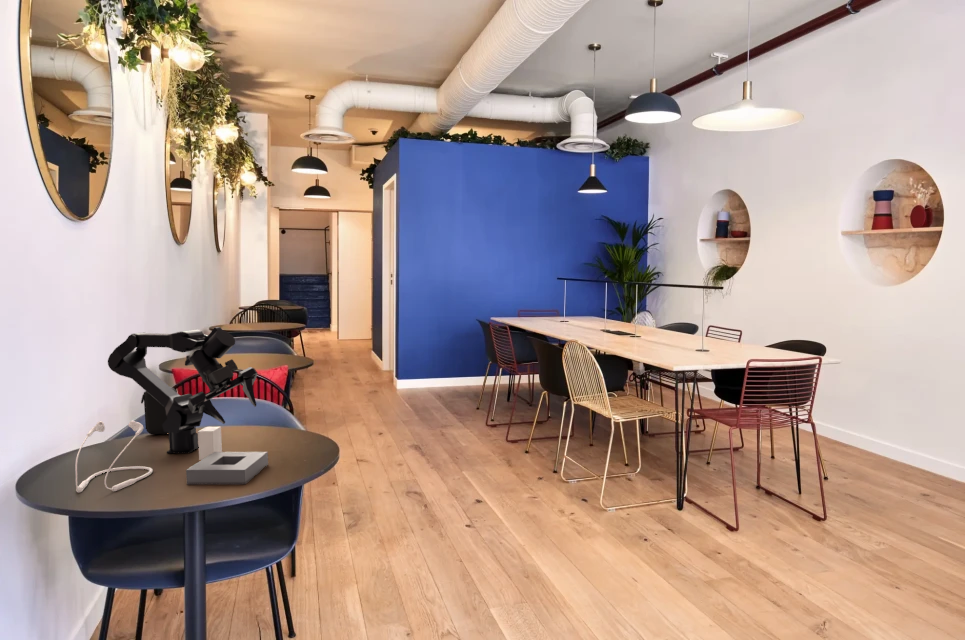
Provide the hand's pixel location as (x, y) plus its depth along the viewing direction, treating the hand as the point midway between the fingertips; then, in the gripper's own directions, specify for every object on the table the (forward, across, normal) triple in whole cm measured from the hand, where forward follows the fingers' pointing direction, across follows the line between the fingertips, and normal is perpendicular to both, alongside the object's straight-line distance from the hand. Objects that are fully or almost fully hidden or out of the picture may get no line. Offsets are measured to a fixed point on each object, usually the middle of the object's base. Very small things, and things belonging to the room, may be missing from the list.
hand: (240, 414), depth 171 cm
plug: (+4, -10, +9) cm, 14 cm away
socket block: (+14, -12, -6) cm, 19 cm away
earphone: (-1, -33, +2) cm, 33 cm away
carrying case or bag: (-17, -12, +39) cm, 45 cm away
